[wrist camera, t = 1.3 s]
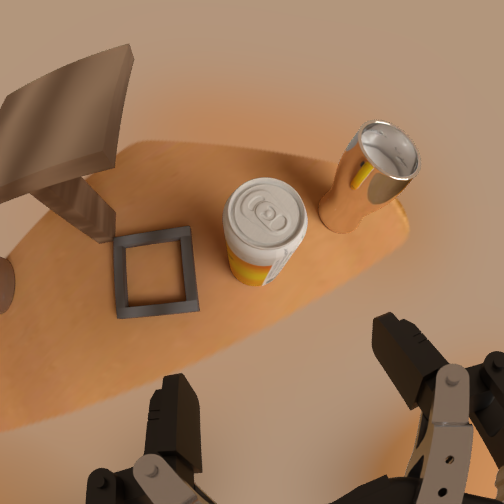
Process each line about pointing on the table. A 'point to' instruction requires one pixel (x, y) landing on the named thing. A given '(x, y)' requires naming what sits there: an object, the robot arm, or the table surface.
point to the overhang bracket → (81, 160)
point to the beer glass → (369, 175)
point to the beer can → (262, 229)
